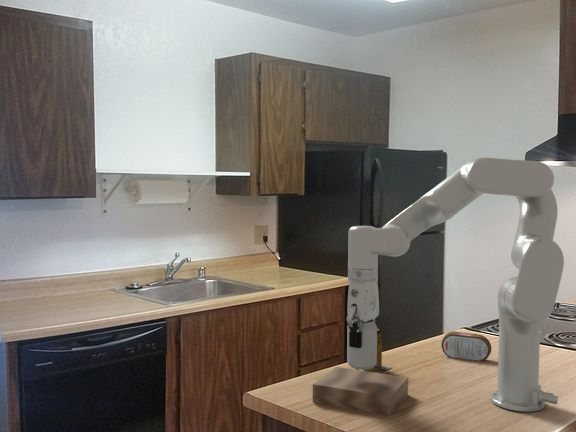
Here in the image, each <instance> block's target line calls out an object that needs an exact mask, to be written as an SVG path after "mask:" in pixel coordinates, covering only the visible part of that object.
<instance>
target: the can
mask: <svg viewBox="0 0 576 432" xmlns="http://www.w3.org/2000/svg"><path fill="white" fill-rule="evenodd" d="M356 319H359V318H356ZM374 322H375V323H374ZM354 323H356V322H354ZM356 325H357V326H358V323H356ZM348 329H349V327H348V325H347V335H346V336H347V338H346V339H347V341H346V342H347V345H346V346H347V347H346V348H347V349H346V358H347V359H346V364H348V365H349V367H350V368H351V369H352V368H353V369H354V370H358V369H361V370H366V369H371V368H373V367H374V366H375V365H376V364H377V329H378V326H377V324H376V320H375V321H374V320H373V319H372V320H370V321H367V322H363V321H362V326H361V330H360V332H362V347H361V348H354V347H350V346H349V330H348ZM361 370H360V371H361Z"/></svg>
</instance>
